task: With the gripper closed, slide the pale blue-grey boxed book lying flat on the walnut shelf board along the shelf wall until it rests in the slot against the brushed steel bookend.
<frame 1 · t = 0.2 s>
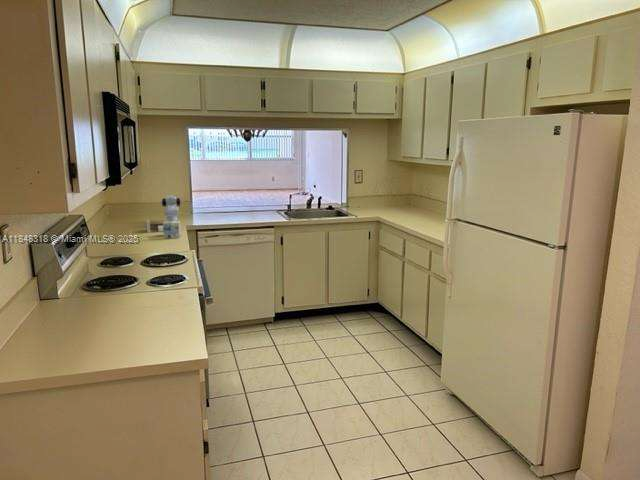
hand: (171, 203, 336), 21 cm above the countertop, tool horizontal, fingers open, 7 cm apart
shelf: (160, 232, 341), on the countertop
book: (162, 230, 341), point 1 cm above the countertop, touching shelf
bookend: (149, 231, 338), resting on shelf
light bulb box: (172, 237, 326), on the countertop
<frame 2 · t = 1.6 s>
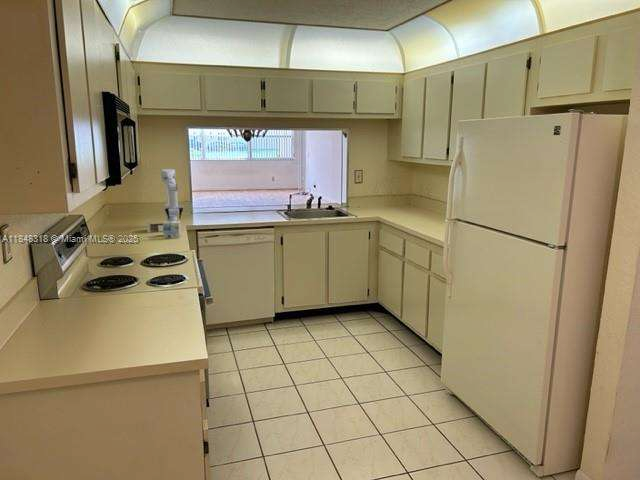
hand: (174, 219, 342), 9 cm above the countertop, tool pointing down, fingers open, 7 cm apart
nothing on the countertop moved.
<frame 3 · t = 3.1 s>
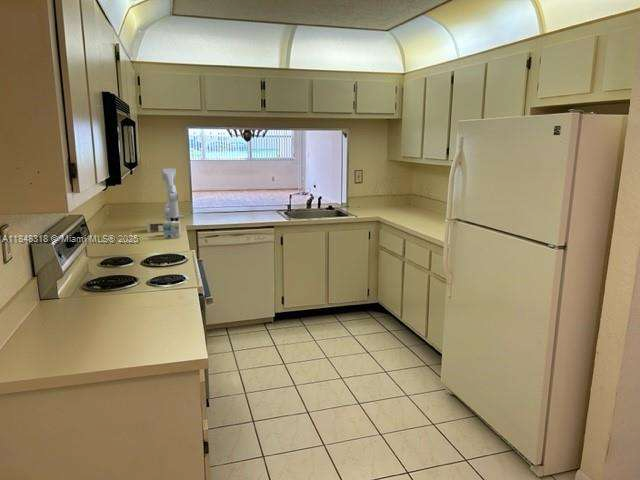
hand: (175, 228, 343), 2 cm above the countertop, tool pointing down, fingers closed
nothing on the countertop moved.
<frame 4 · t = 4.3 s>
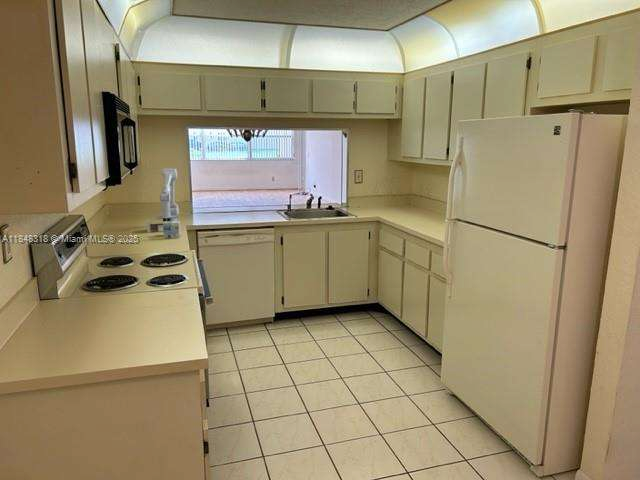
hand: (167, 228, 341), 3 cm above the countertop, tool pointing down, fingers closed
book: (161, 230, 341), point 2 cm above the countertop, touching gripper
everything else where it was.
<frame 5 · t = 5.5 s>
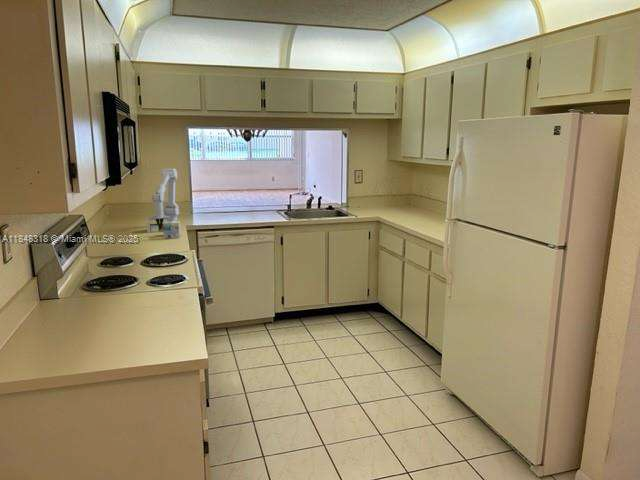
hand: (160, 229, 340), 2 cm above the countertop, tool pointing down, fingers closed
book: (154, 230, 339), point 2 cm above the countertop, touching gripper, shelf
everything else where it was.
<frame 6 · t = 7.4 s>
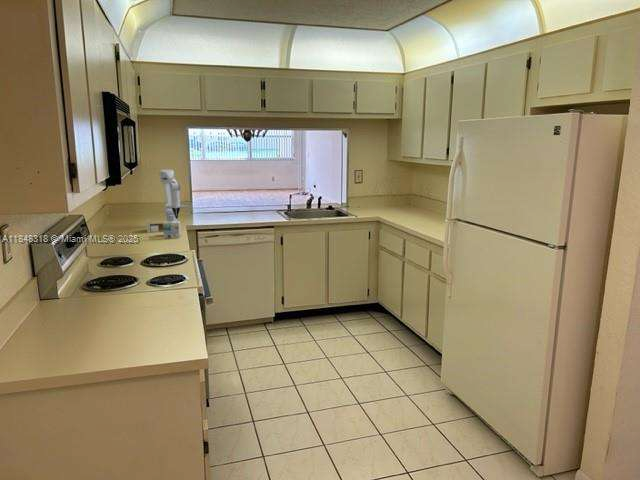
hand: (176, 218, 344), 9 cm above the countertop, tool pointing down, fingers closed
book: (154, 230, 339), point 1 cm above the countertop, touching shelf
everything else where it was.
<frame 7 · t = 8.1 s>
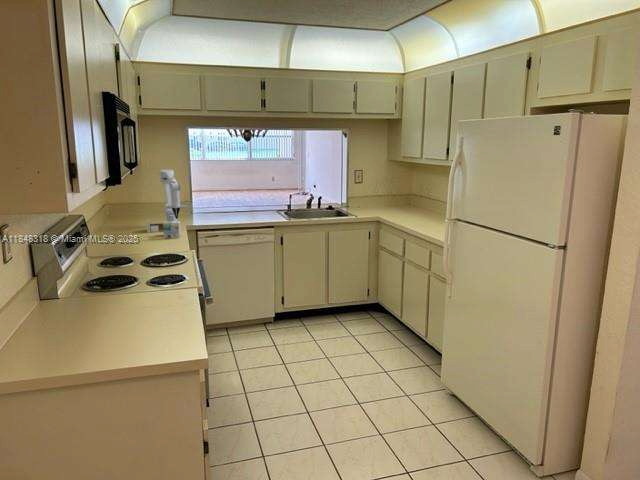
hand: (176, 218, 344), 9 cm above the countertop, tool pointing down, fingers closed
nothing on the countertop moved.
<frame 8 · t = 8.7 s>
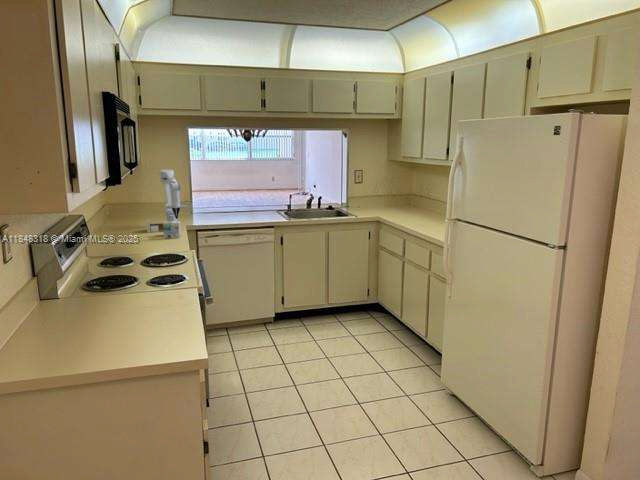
hand: (176, 218, 344), 9 cm above the countertop, tool pointing down, fingers closed
nothing on the countertop moved.
at the end: book 0.0 cm from the target spot, point 1.5 cm above the countertop; book tilted 0°; book moved 4.9 cm from its start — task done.
